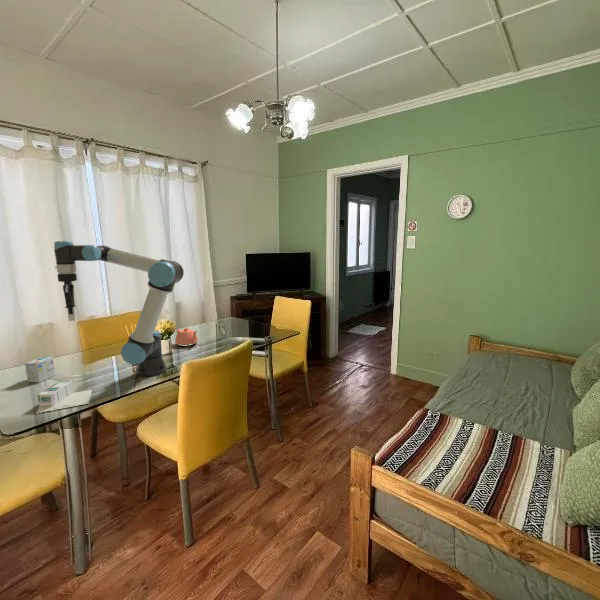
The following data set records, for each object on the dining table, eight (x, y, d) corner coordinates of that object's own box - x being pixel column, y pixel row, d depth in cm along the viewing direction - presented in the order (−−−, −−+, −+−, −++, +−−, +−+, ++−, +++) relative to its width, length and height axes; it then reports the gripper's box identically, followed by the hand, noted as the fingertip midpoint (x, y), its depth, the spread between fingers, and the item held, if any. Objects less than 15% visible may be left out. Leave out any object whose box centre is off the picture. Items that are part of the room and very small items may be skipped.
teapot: (206, 344, 231) (205, 328, 229) (188, 350, 219) (187, 332, 217) (186, 340, 243) (185, 324, 241) (169, 345, 231) (167, 328, 229)
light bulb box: (44, 375, 175) (41, 356, 173) (56, 375, 175) (53, 356, 173) (27, 383, 165) (24, 363, 163) (39, 383, 164) (37, 363, 163)
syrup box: (72, 380, 151) (51, 393, 137) (73, 392, 152) (53, 406, 138) (59, 381, 151) (37, 394, 136) (61, 393, 152) (38, 407, 137)
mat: (92, 390, 155) (91, 389, 155) (88, 404, 141) (88, 403, 141) (45, 398, 147) (45, 397, 146) (36, 414, 133) (36, 413, 132)
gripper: (60, 272, 161) (65, 318, 165) (54, 274, 150) (60, 323, 153) (78, 272, 165) (82, 317, 168) (74, 273, 153) (79, 322, 157)
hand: (72, 320), depth 161 cm, fingers closed
